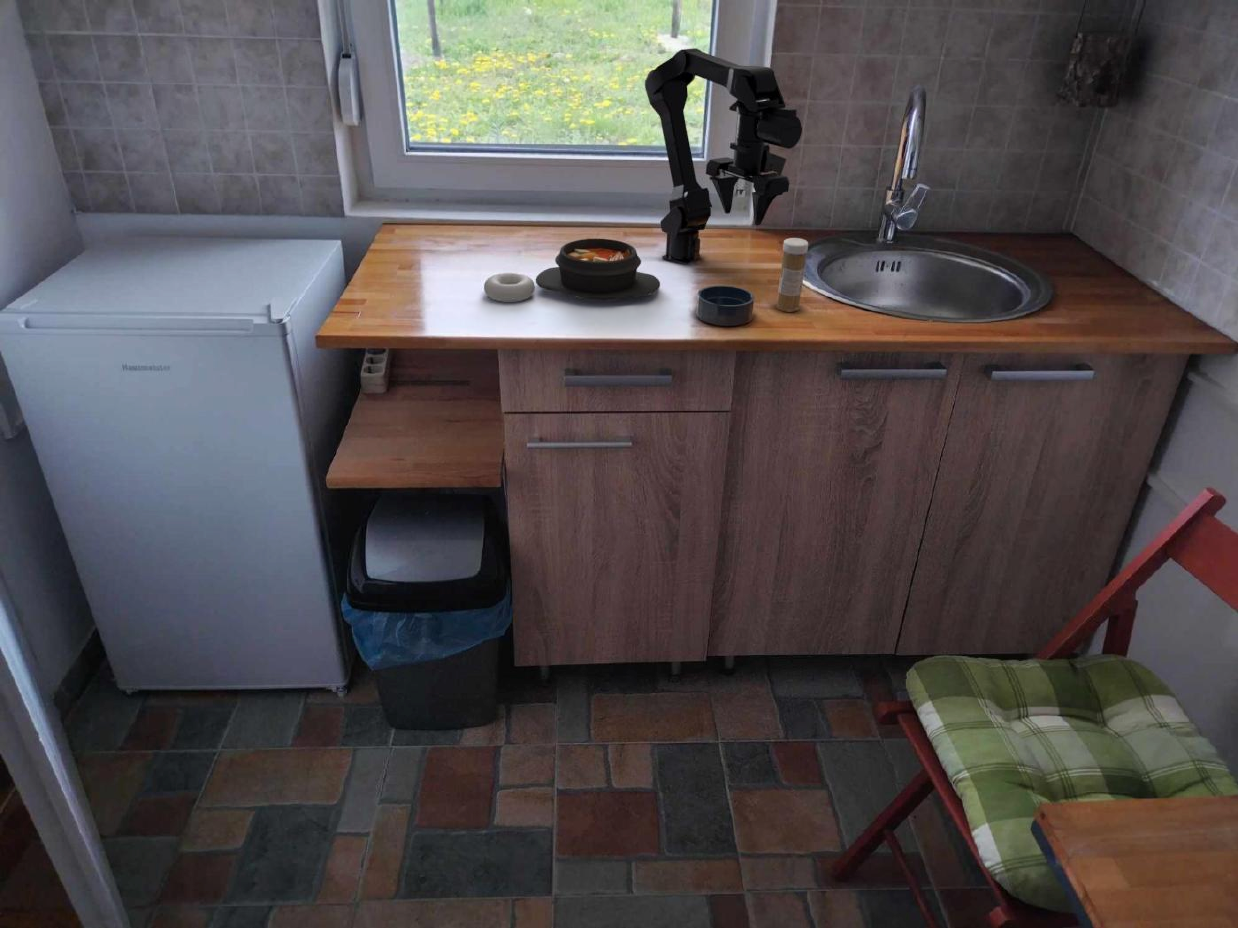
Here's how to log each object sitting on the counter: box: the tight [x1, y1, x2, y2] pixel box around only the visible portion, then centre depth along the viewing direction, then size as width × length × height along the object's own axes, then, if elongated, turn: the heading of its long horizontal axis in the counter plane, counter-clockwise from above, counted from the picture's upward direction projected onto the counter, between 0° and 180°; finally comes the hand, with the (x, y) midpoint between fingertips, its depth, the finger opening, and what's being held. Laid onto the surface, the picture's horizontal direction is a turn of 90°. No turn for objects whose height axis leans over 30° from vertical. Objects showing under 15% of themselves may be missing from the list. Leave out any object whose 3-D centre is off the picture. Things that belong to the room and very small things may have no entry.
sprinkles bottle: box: [775, 237, 809, 313], centre depth 175 cm, size 5×5×14 cm
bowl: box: [695, 284, 755, 327], centre depth 173 cm, size 11×11×4 cm
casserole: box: [535, 238, 661, 301], centre depth 182 cm, size 25×19×8 cm
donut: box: [483, 272, 536, 303], centre depth 180 cm, size 10×4×10 cm
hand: (742, 219), depth 184 cm, fingers open, 9 cm apart
